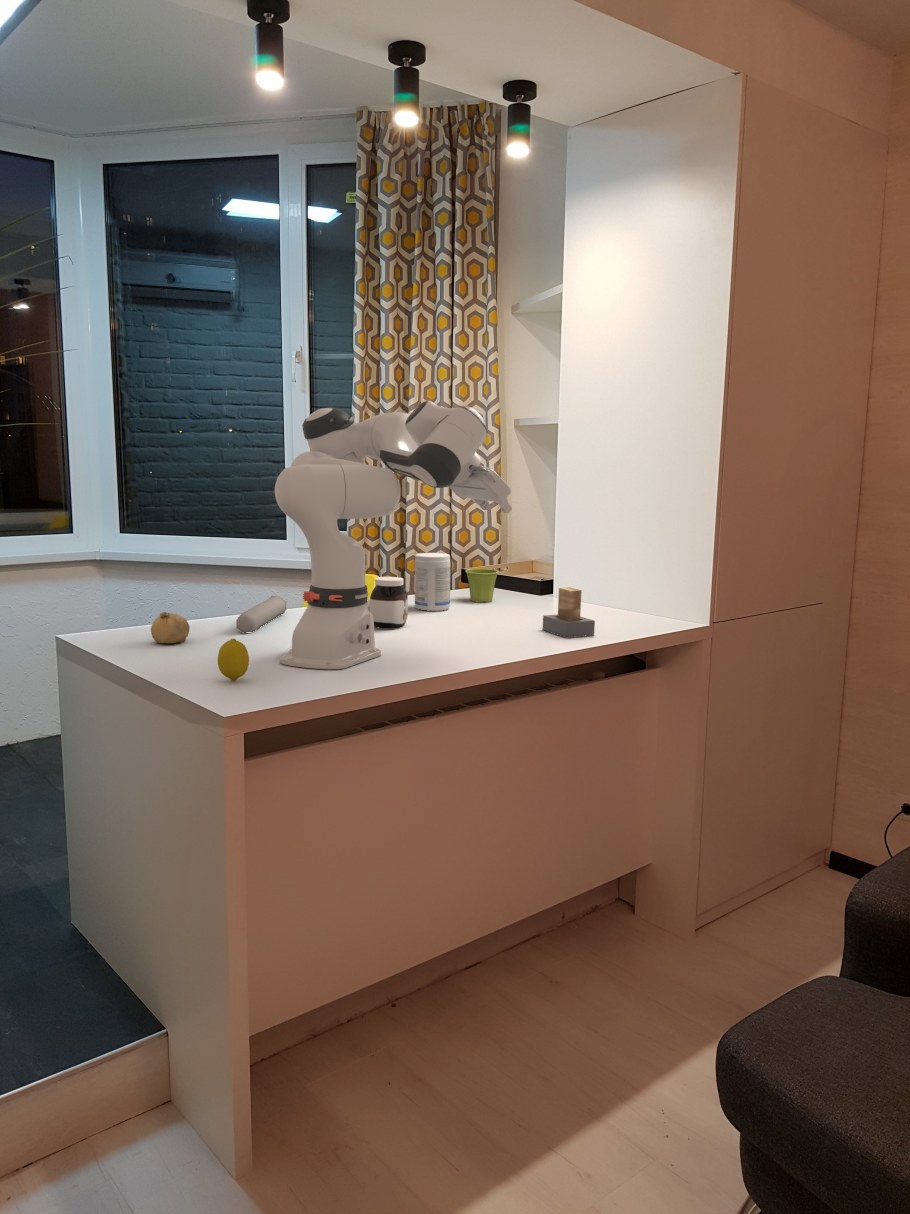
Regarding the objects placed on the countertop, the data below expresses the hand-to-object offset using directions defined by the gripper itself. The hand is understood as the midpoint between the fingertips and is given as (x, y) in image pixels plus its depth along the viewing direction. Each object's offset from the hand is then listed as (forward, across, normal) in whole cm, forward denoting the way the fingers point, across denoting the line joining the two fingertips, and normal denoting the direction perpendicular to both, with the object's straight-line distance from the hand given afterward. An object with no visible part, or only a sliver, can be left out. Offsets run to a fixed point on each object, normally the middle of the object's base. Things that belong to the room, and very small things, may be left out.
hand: (497, 509), depth 206 cm
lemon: (-25, -17, +67) cm, 73 cm away
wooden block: (+34, -2, +6) cm, 34 cm away
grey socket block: (+34, -2, +7) cm, 35 cm away
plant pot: (+36, +45, +6) cm, 58 cm away
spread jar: (+8, +22, +34) cm, 41 cm away
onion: (-28, +20, +70) cm, 78 cm away
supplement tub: (+23, +38, +19) cm, 49 cm away
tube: (-11, +34, +53) cm, 64 cm away
